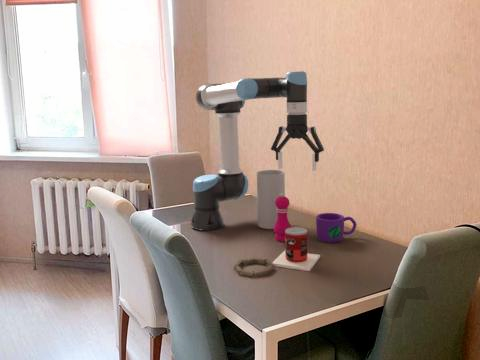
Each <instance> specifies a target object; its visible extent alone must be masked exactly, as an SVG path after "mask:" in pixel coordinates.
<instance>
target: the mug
mask: <svg viewBox="0 0 480 360" xmlns="http://www.w3.org/2000/svg"><path fill="white" fill-rule="evenodd" d="M315 219H316V220H315V221H316V222H315V225H316V226H315V227H316V236H317V237H316V238H317V239H318V240H319V241H321V242H323V243H330V244H331V243H333V244H334V243H338V242H340V241H341V240H343V238H344V236H347V235H351V234H353V233H354V232H355V231H356V228H357V225H358V224H357V222H356V220H355V219H354V218H353V217H351V216H345V215H342V214H340V213H337V212H336V213H335V212H334V213H333V212H324V213H318V214H317V215H316V217H315ZM346 221H350V222H351V224H352V227H351V230H349V231H345V230H344V229H345V222H346Z"/></svg>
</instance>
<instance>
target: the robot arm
mask: <svg viewBox="0 0 480 360" xmlns="http://www.w3.org/2000/svg"><path fill="white" fill-rule="evenodd" d="M274 98H275V99H277V98H286V113H287V115H286V126H283V125H281V126H279V127H278V133H277V135H276V136H275V139H274V141H273V143H272V145H271V147H270V150H271V151H273V152H275V161H277V163H278V164H277V170H281V169H283V151H281V150H282V149H283V148H284V147H285V145H287V143H288V141H290V140H291V139H299V140H300V139H302V140H304V141H305V143H306V144H307V145H308V146H309V148H310V149H311V150H312V152H313V153H312V170H311V171H312V172H315V171H317V163H318V162H319V161H320V153H323V152H324V151H325V148H324V146H323V144H322V142H321V140H320V138H319V135H318V134H317V131H316V130H317V129H316V126H311V127H308V115H307V112H308V77H307V72H306V71H302V70H301V71H299V70H298V71H287V73H286V77H259V78H257V77H256V78H255V77H254V78H251V77H246V78H241V79H239V80H238V81H233V82H229V83H208V84H203V85H202V86H200V87H199V88H198V89H197V91H196V92H195V101H196V103H197V104H198V106H199V107H200V108H202V109H203V110H206V111H215V112H214V113H215V115H216V116H217V117H218V126H219V129H218V130H219V149H220V151H219V152H220V153H219V154H220V169H219V171H218V172H217V174H218V175H217V174H205V175H200V176H198V177H196V178H194V180H193V182H192V192H193V193H192V195H193V214H192V218H191V220H190V226H191V225H192V226H193V227H194V228H197V229H202V230H208V231H215V230H214V229H216V230H219V229H222V228H223V227H224V218H223V215H222V213H221V211H220V203H221V202H227V201H232V200H238V199H240V198H243V197H245V196H246V194H247V193H248V190H249V179H248V177H247V175H246V174H245V173H244V171H243V169H241V167H240V151H239V128H238V127H239V125H238V116H239V115H240V114H241V110H242V108H244V106H245V104H246V101H248V100H255V99H257V100H259V99H274ZM285 131H286V132H287V135H286V136H285V137H284V138H283V140H282V141H281V139H282V136H283V135H284V133H285ZM308 131H309V133H310V134H311V136H312V139H313V141H314V142H313V141H312V140H311V138H310V137H309V135H308V134H307V133H308ZM280 141H281V142H280ZM279 143H280V144H279ZM202 230H201V231H202Z"/></svg>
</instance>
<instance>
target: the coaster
mask: <svg viewBox="0 0 480 360" xmlns="http://www.w3.org/2000/svg"><path fill="white" fill-rule="evenodd" d="M320 258H321V254H318V253H317V254H316V253H309V252H307V260H306V261H303V262H290V261H288V260H287V259H286V251H285V250H283V252H281V253H280V254H279V256H278V257H277V258H275V259H274V260H273V261H272V263H273V264H274V267H279V268H284V269H290V270H299V271H304V272H305V271H306V272H310V271H311V270H312V269H313V268H314V266H315V265H316V263H317V262H318V261H319V259H320Z"/></svg>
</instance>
